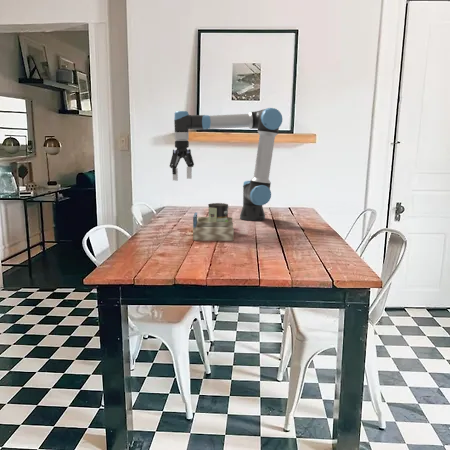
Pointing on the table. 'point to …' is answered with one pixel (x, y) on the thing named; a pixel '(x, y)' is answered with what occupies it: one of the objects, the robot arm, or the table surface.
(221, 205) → the coffee can
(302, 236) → the table surface
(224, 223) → the organizer
